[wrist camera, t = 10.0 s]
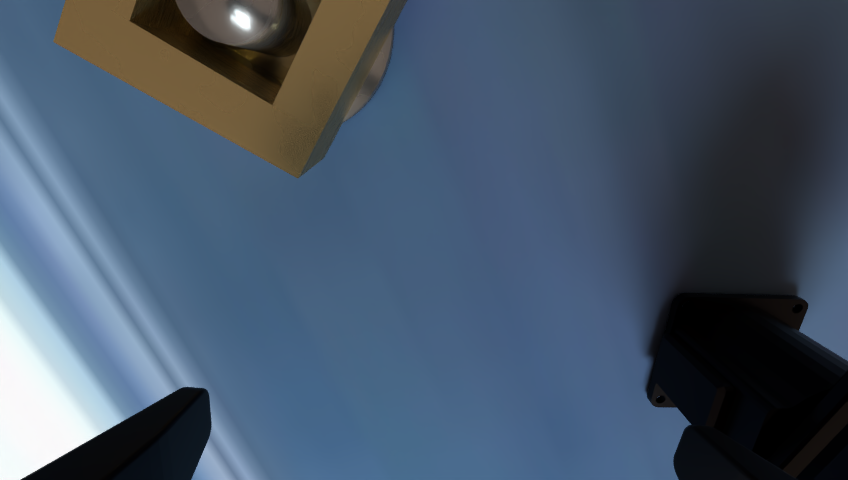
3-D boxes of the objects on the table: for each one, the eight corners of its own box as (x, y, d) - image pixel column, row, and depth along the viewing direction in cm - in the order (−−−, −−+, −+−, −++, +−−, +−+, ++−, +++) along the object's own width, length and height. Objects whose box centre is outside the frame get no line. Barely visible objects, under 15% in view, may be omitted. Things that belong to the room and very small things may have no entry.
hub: (396, -95, 15) (388, -211, 9) (392, 137, 17) (384, 160, 12) (163, -110, 14) (3, -241, 9) (196, 129, 17) (90, 149, 11)
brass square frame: (417, -20, 14) (420, -60, 10) (323, 157, 16) (297, 178, 12) (222, -158, 13) (143, -263, 9) (144, 54, 15) (53, 41, 11)
